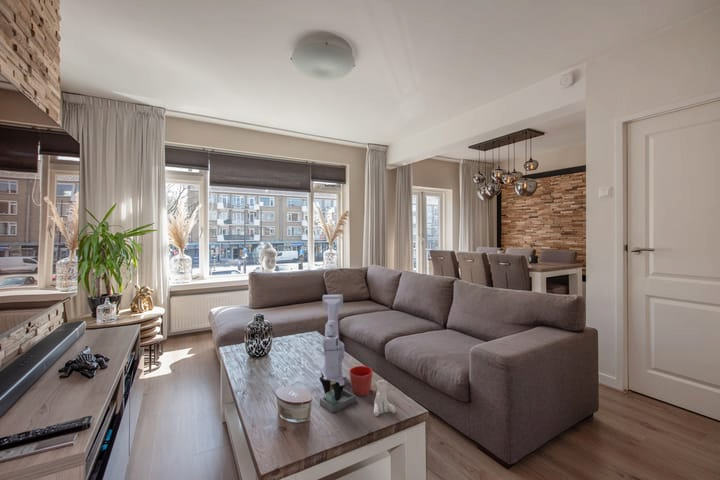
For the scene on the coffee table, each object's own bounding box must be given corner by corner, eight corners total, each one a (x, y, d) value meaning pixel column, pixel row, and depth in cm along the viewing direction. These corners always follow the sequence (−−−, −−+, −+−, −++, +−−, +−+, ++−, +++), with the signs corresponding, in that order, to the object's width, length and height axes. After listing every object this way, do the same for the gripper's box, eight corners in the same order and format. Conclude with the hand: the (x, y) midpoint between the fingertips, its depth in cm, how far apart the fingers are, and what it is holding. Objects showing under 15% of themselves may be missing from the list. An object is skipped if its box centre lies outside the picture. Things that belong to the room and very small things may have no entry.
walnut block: (326, 392, 146) (326, 381, 146) (333, 389, 148) (333, 378, 148) (331, 395, 143) (331, 384, 143) (338, 392, 145) (338, 381, 145)
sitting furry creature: (374, 417, 125) (373, 387, 124) (367, 406, 133) (367, 378, 133) (396, 413, 127) (395, 383, 127) (388, 402, 135) (388, 374, 135)
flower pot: (353, 399, 139) (352, 377, 139) (347, 387, 149) (347, 367, 149) (376, 395, 142) (375, 373, 141) (368, 384, 152) (368, 364, 152)
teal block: (333, 401, 137) (333, 389, 136) (339, 404, 134) (339, 392, 134) (326, 404, 134) (325, 392, 134) (331, 408, 131) (331, 396, 131)
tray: (319, 404, 135) (319, 398, 135) (343, 394, 143) (343, 388, 143) (332, 413, 128) (332, 407, 128) (356, 401, 137) (356, 395, 137)
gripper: (314, 362, 136) (315, 393, 136) (334, 373, 125) (335, 406, 126) (327, 358, 141) (328, 388, 141) (348, 367, 130) (348, 400, 130)
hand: (332, 396), depth 134 cm, fingers open, 7 cm apart
